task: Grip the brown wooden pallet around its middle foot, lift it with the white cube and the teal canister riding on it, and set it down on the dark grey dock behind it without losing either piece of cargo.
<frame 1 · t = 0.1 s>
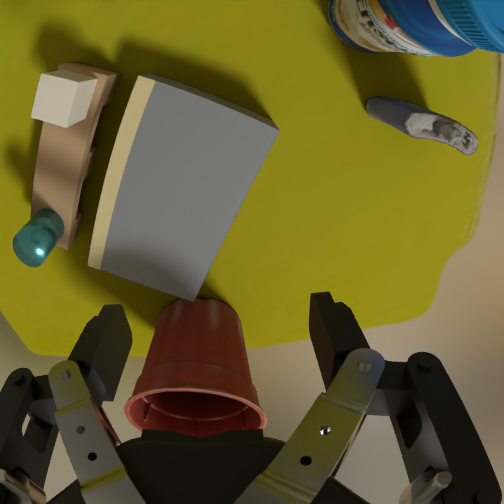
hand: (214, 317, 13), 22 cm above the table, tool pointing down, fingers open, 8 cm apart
teal canister: (49, 224, 30), point 4 cm above the table, touching pallet
dock: (174, 184, 33), on the table
flower pot: (200, 324, 45), on the table
flask: (400, 112, 29), on the table
pallet: (73, 152, 29), on the table, touching white cube, teal canister
white cube: (74, 93, 22), point 4 cm above the table, touching pallet
beverage bottle: (363, 17, 23), on the table
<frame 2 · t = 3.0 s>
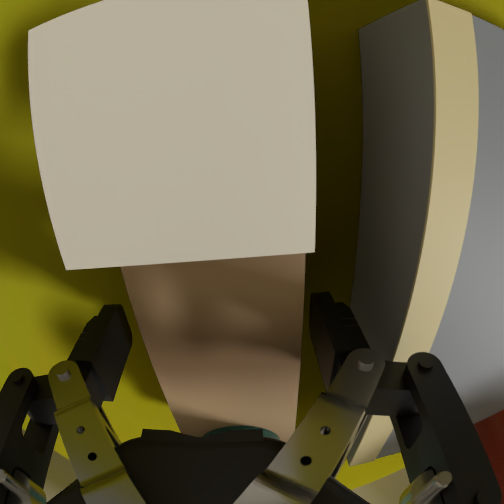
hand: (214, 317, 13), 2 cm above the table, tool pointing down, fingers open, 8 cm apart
teal canister: (240, 444, 14), point 4 cm above the table, touching pallet
dock: (460, 256, 14), on the table
flower pot: (467, 411, 23), on the table
pallet: (224, 285, 14), on the table, touching white cube, teal canister
white cube: (196, 114, 7), point 4 cm above the table, touching pallet
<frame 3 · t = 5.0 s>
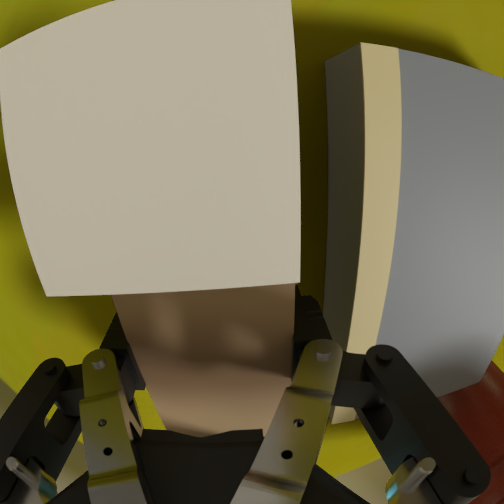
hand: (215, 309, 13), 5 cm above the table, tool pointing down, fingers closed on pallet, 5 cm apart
dock: (420, 239, 18), on the table
flower pot: (450, 393, 27), on the table
pallet: (216, 297, 14), point 4 cm above the table, touching white cube, teal canister, gripper
white cube: (182, 127, 7), point 9 cm above the table, touching pallet
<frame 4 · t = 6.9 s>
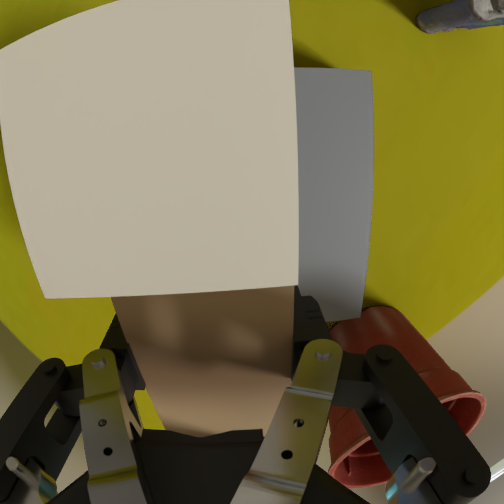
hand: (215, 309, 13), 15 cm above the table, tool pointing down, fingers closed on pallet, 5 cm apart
dock: (280, 195, 27), on the table
flower pot: (364, 342, 36), on the table
flask: (446, 19, 19), on the table
pallet: (215, 298, 14), point 15 cm above the table, touching white cube, teal canister, gripper
white cube: (181, 128, 7), point 19 cm above the table, touching pallet
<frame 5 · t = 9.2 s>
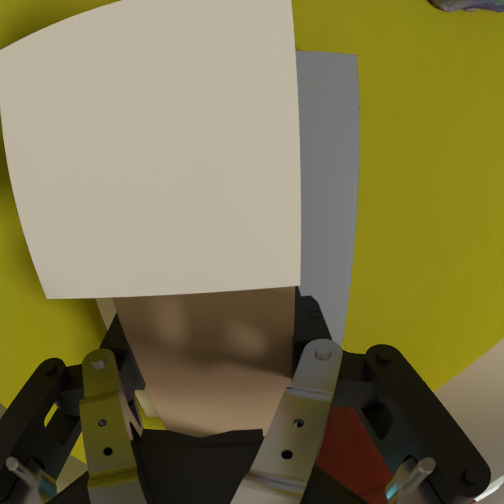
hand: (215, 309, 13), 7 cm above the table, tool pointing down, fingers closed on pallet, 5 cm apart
dock: (221, 246, 19), on the table
flower pot: (342, 409, 28), on the table
pallet: (216, 298, 14), point 6 cm above the table, touching white cube, teal canister, gripper
white cube: (182, 129, 7), point 10 cm above the table, touching pallet
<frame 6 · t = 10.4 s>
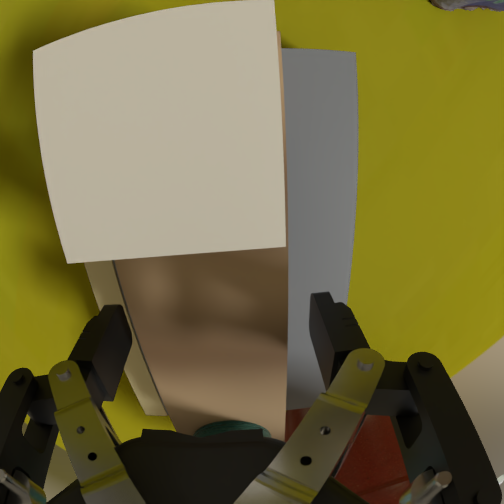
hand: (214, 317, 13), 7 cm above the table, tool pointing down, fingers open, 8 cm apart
teal canister: (232, 440, 14), point 9 cm above the table, touching pallet
dock: (220, 244, 19), on the table
flower pot: (342, 407, 28), on the table
pallet: (216, 284, 15), point 5 cm above the table, touching white cube, dock, teal canister
white cube: (186, 123, 8), point 9 cm above the table, touching pallet
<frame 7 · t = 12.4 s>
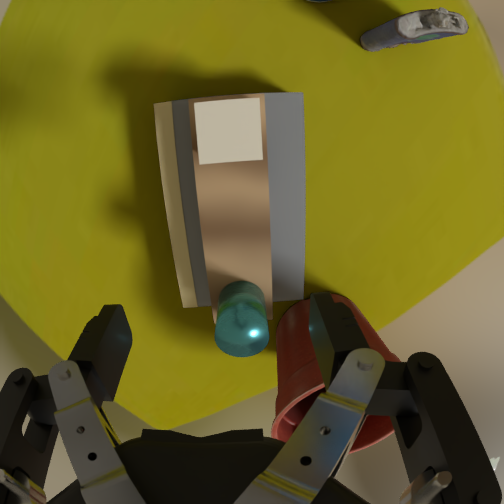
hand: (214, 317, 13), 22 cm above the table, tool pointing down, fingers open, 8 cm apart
teal canister: (241, 300, 28), point 9 cm above the table, touching pallet
dock: (235, 195, 33), on the table
flower pot: (319, 327, 42), on the table
flask: (392, 36, 26), on the table
pallet: (235, 207, 29), point 5 cm above the table, touching white cube, dock, teal canister
white cube: (230, 127, 22), point 9 cm above the table, touching pallet
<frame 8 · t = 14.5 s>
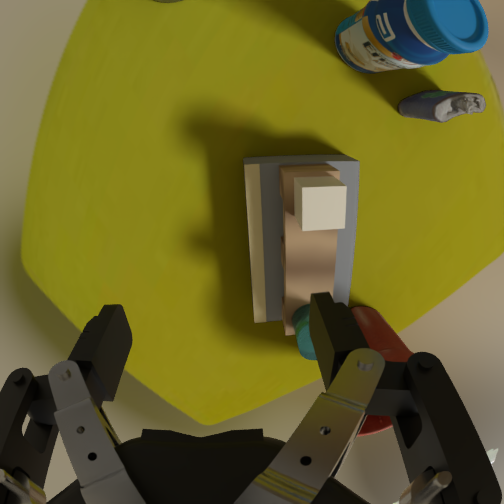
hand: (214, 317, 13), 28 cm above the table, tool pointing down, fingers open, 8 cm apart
teal canister: (308, 317, 37), point 9 cm above the table, touching pallet
dock: (296, 233, 42), on the table
flower pot: (351, 332, 51), on the table
flask: (422, 102, 34), on the table
pallet: (304, 247, 37), point 5 cm above the table, touching white cube, dock, teal canister
white cube: (313, 196, 30), point 9 cm above the table, touching pallet
beverage bottle: (363, 45, 31), on the table
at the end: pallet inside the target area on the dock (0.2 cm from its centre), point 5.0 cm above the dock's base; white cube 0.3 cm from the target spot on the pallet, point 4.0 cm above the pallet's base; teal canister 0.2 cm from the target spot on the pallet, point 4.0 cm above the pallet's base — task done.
